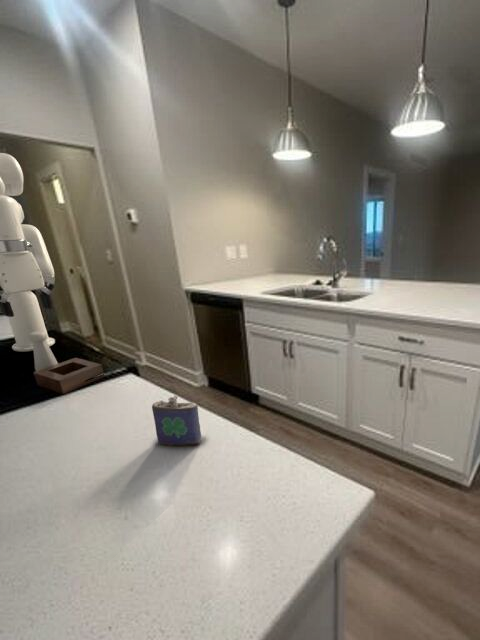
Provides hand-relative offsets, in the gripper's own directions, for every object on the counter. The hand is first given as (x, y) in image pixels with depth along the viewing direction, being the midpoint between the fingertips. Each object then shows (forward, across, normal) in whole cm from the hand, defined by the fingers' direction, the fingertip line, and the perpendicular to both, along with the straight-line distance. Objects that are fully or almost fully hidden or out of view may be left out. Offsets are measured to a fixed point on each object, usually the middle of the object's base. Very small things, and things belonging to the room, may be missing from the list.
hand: (29, 312), depth 95 cm
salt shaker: (+19, 0, -1) cm, 19 cm away
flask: (+20, +8, +59) cm, 63 cm away
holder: (+19, 0, +10) cm, 22 cm away
